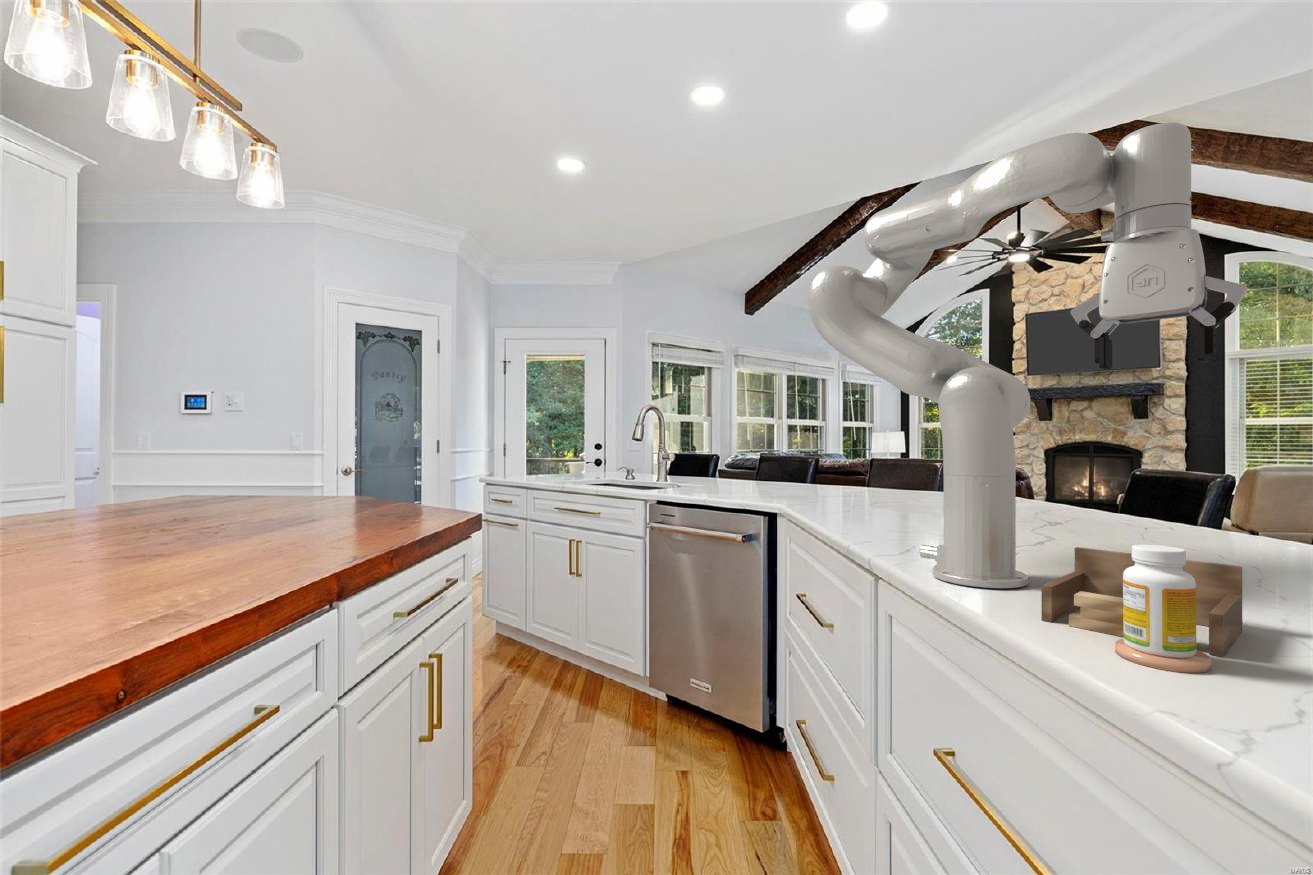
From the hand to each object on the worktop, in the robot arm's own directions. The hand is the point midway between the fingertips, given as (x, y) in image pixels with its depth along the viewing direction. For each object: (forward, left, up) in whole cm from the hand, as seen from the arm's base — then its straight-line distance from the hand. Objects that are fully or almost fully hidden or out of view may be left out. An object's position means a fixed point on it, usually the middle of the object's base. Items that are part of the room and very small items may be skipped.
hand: (1151, 365), depth 76 cm
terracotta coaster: (+5, -23, -30) cm, 38 cm away
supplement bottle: (+5, -23, -30) cm, 38 cm away
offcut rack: (+1, -12, -30) cm, 33 cm away
